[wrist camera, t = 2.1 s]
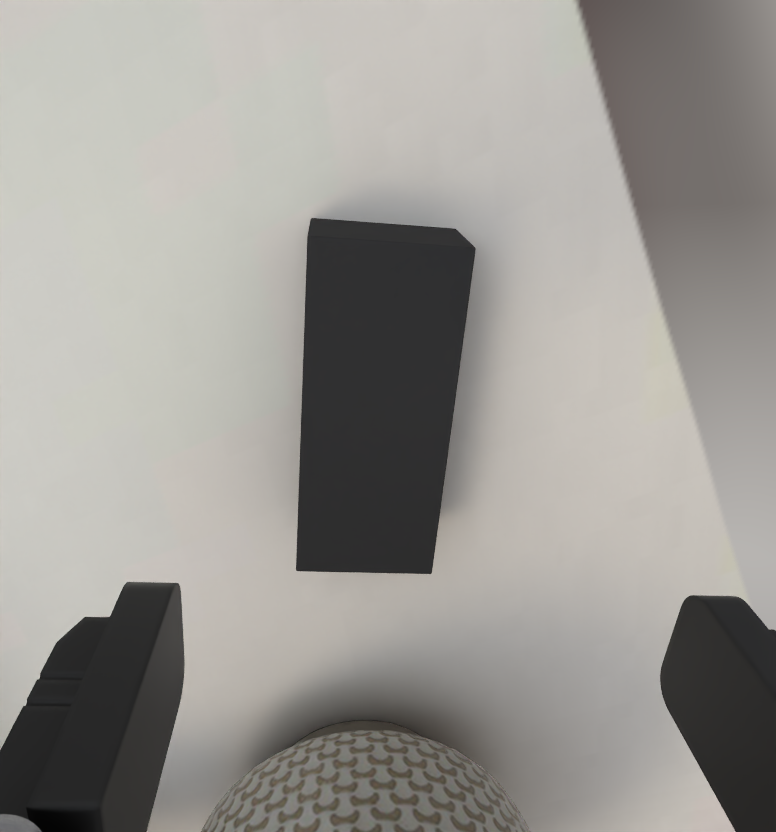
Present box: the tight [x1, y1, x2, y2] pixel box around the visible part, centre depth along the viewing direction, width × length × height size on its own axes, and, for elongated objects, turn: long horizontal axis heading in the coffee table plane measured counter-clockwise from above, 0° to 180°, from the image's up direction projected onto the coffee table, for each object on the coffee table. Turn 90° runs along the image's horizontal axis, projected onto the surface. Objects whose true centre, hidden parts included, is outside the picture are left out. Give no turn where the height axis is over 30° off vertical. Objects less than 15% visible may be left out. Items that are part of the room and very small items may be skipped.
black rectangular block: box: [296, 218, 475, 574], centre depth 24 cm, size 12×5×4 cm, turn 175°
